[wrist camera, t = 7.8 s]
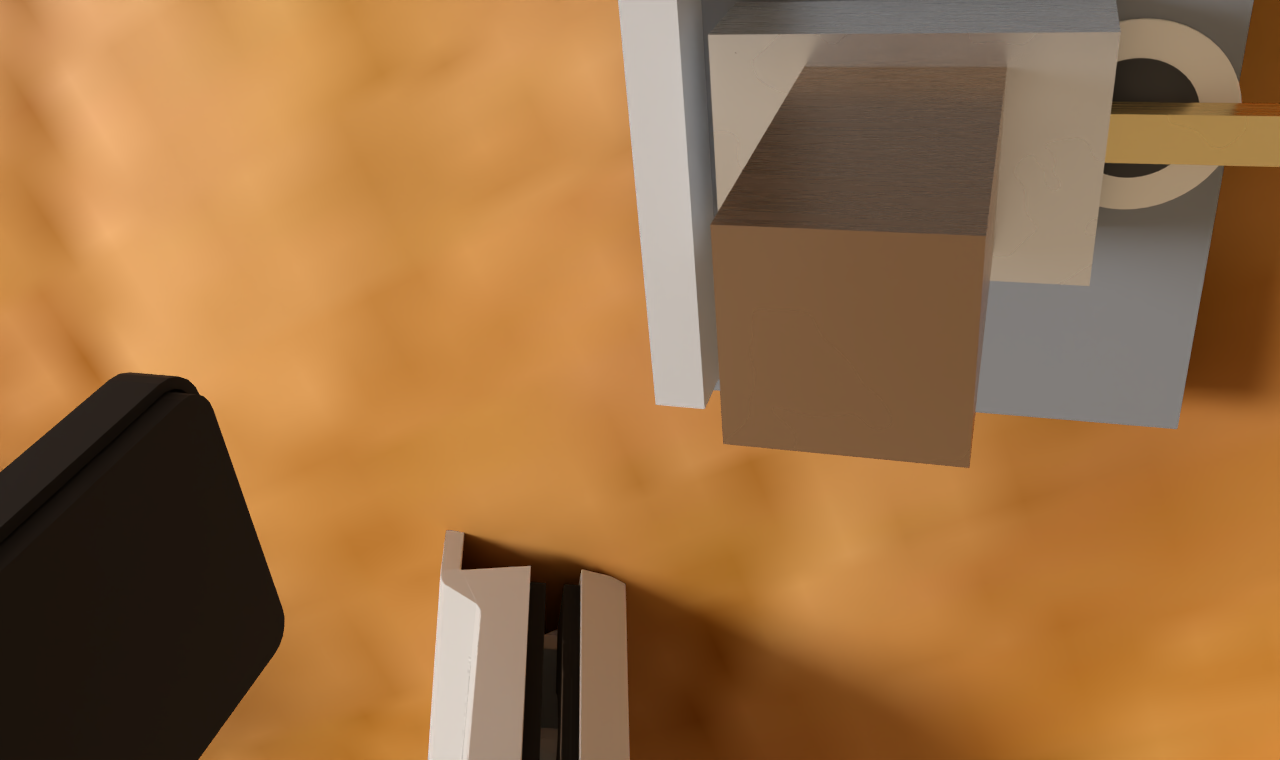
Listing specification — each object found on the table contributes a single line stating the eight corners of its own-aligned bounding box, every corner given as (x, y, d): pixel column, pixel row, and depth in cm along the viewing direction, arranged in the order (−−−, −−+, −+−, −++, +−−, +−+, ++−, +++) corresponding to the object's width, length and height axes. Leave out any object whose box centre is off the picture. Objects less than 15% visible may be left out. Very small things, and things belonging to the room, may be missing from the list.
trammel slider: (736, 2, 20) (581, 178, 13) (1310, -7, 17) (1458, 207, 11) (745, 220, 22) (615, 464, 16) (1260, 241, 19) (1360, 542, 13)
